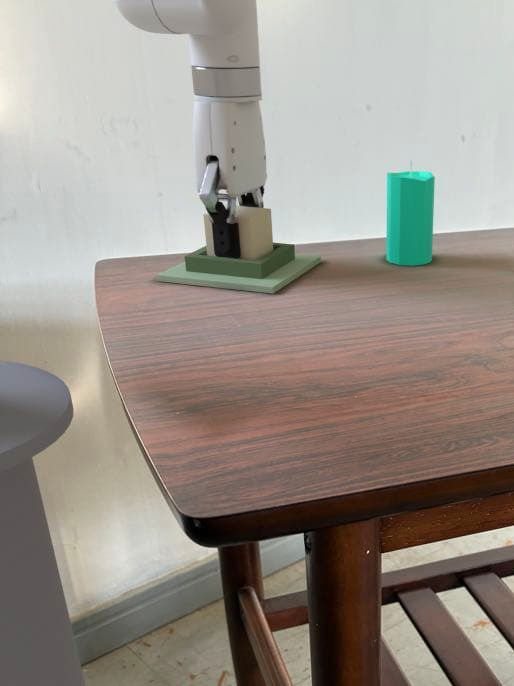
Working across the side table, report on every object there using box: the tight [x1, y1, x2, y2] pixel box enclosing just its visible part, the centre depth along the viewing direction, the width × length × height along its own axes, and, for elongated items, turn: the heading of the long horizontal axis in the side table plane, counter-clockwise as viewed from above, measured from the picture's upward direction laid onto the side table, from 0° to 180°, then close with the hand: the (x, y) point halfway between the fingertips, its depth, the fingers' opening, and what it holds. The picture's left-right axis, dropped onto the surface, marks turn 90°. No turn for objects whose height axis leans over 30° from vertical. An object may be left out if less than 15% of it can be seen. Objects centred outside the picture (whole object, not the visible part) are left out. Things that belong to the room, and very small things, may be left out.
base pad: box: [156, 242, 322, 295], centre depth 107 cm, size 15×15×3 cm
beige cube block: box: [202, 204, 274, 260], centre depth 106 cm, size 6×6×5 cm
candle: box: [385, 160, 436, 266], centre depth 111 cm, size 6×6×12 cm
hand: (240, 249), depth 107 cm, fingers closed on beige cube block, 5 cm apart
